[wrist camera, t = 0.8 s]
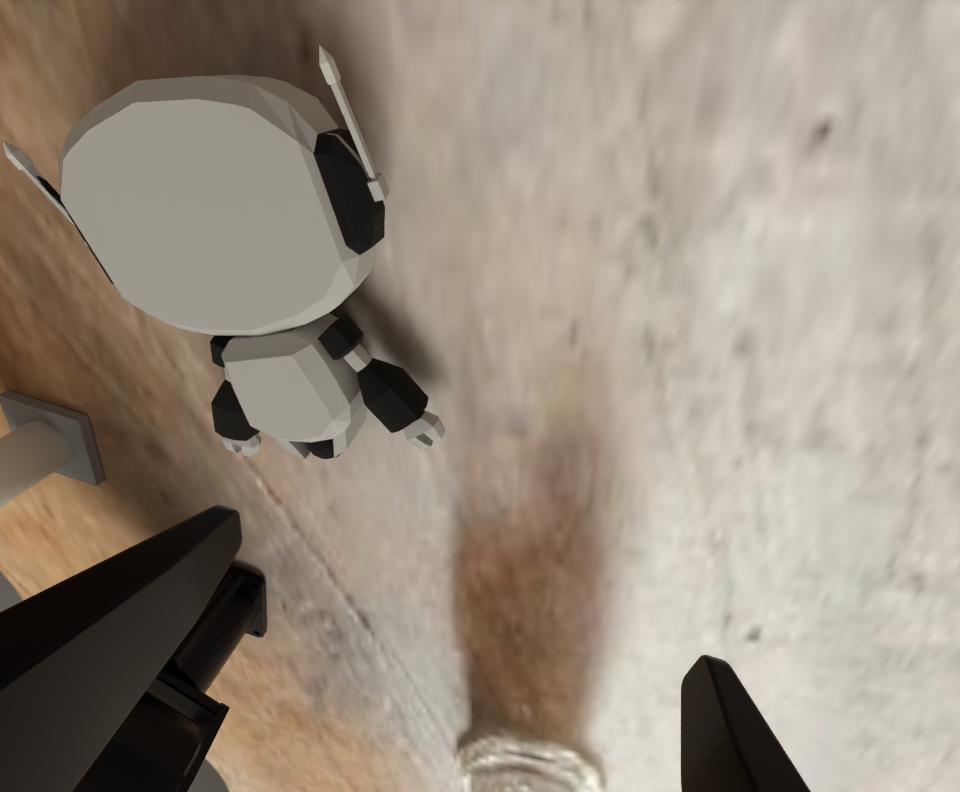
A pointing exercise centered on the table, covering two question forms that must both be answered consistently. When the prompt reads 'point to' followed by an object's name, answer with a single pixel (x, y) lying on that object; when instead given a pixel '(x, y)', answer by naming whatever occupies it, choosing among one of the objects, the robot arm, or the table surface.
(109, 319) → the table surface
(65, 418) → the pair of white pegs
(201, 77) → the robot toy
